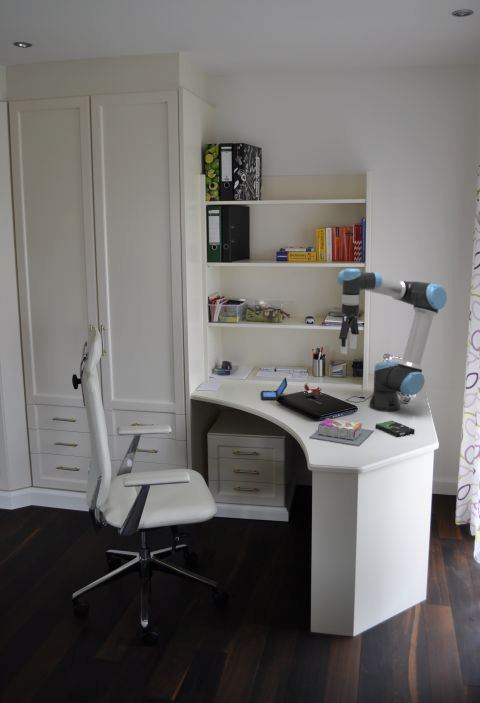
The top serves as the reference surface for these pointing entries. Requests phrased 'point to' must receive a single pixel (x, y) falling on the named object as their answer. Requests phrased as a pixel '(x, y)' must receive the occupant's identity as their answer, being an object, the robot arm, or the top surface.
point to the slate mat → (356, 442)
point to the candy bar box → (340, 429)
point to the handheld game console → (274, 392)
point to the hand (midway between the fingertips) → (348, 351)
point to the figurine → (312, 391)
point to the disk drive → (394, 428)
